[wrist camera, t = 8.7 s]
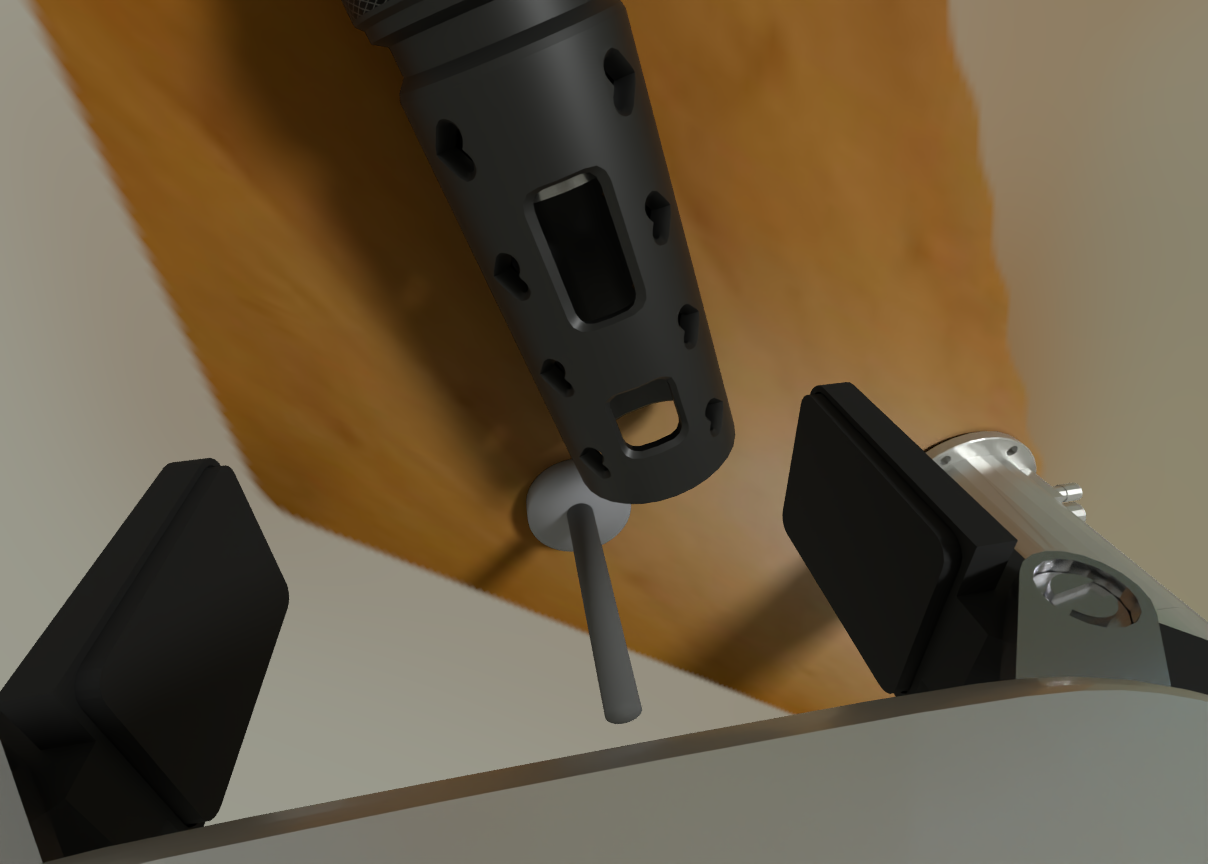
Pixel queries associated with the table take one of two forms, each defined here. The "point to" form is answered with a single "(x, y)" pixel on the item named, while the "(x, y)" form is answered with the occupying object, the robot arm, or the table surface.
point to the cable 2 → (589, 573)
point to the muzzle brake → (568, 220)
